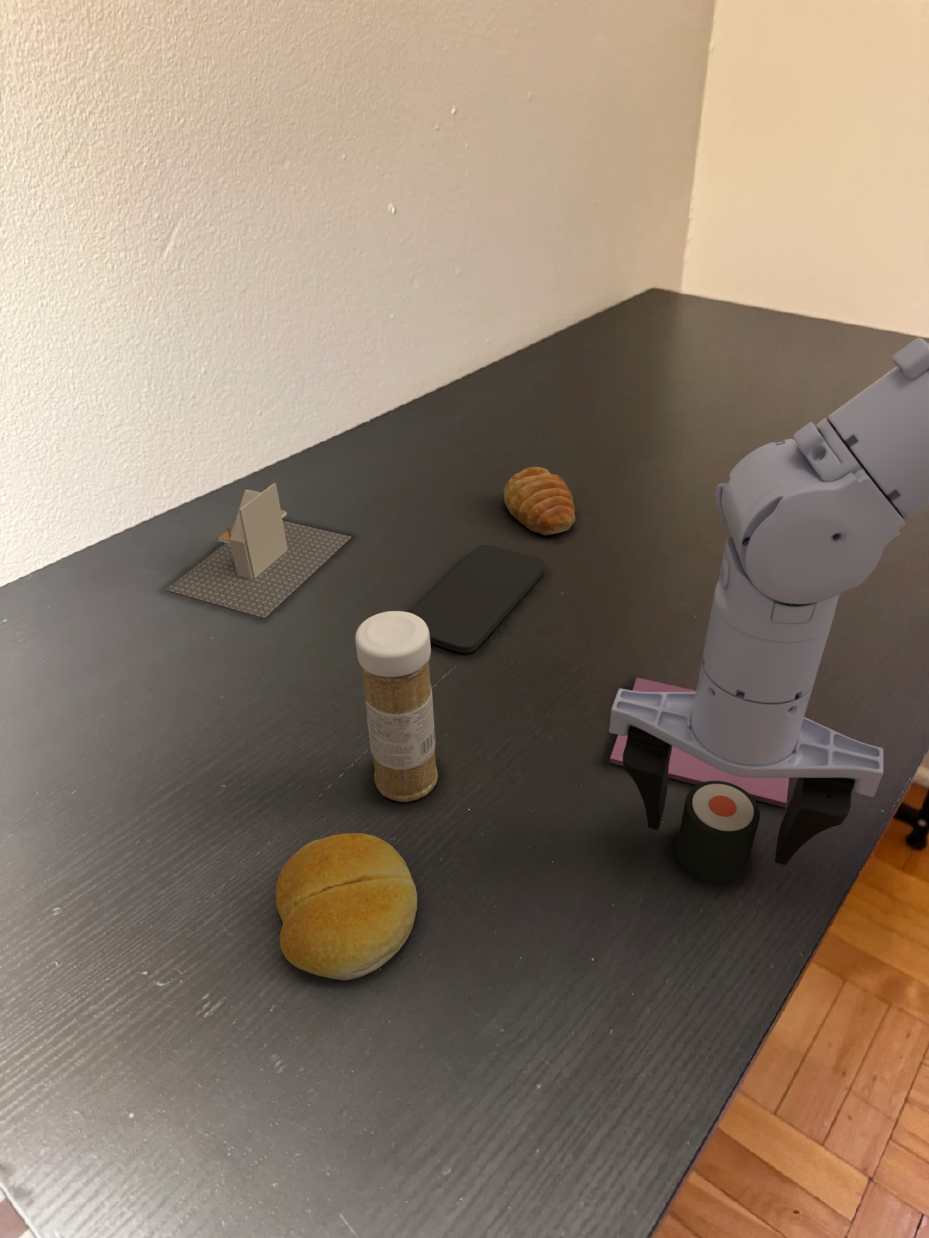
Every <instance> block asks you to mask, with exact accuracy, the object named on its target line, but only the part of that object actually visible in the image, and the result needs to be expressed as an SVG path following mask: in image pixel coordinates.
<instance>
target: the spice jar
mask: <svg viewBox="0 0 929 1238" xmlns="http://www.w3.org/2000/svg"><path fill="white" fill-rule="evenodd" d="M354 639H355V641H354V642H355V648H356V649H355V651H356V657H357V662H358V664H359V665H360V668H361V673H362V674H361V675H362V681H363V692H364V699H365V709H366V721H367V730H368V735H369V736H368V737H369V738H368V739H369V746H370V751H371V754H372V758H373V766H374V774H373V775H374V776H373V777H374V778H373V779H374V783H375V786H376V787H375V788H377V790H378V791H379V793H380V794H381V796H383V797H385V798H388V799H390V800H392V801H396V802H401V803H409V802H413V801H416V800H420V799H422V798H424V797H425V796H428V795H429V793H431V792H432V791H433V789H434V787H436V785H437V782H438V778H439V771H438V768H437V763H436V762H437V761H436V751H435V750H436V732H435V717H434V699H433V698H434V697H433V688H432V685H431V674H430V660H431V653H432V648H431V643H430V636H429V629H428V627H427V625H426V623H425V622H424V621H423V620H422V619H421V618H420V617H418V616H416V615H414V614H411V613H410V612H407V611H400V610H390V611H383V612H380V613H376V614H374V615H372V616H370V617H368V618H367V619H365V620H364V621H363V622H361V624H359V626H358V627H357V630H356V632H355V637H354Z"/></svg>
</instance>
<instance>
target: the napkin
mask: <svg viewBox="0 0 929 1238" xmlns="http://www.w3.org/2000/svg"><path fill="white" fill-rule="evenodd" d="M631 691H639V692H696V689H695V690H694V689H691V688H685V687H681V686H677V685H673V684H667V683H663V682H659V681H654V680H650V679H646V678H640V677H636V678H635V681H634V683H633V687H632V690H631ZM627 736H628V734H627V735H626V736H621V735H617V736H616V739H615V742H614V745H613V747H612V750H611V751H612V752H611V754H610V757H609V764H613V765H617V766H621V767H624V765H623V752H624V749H625V746H626V741H627ZM668 779H671V780H676V781H679V782H684V783H687V784H691V785H694V786H696V785H698V784H700V783H703V782H707V781H724V782H728V783H732V784H734V785H737V786H739V787H740V788H742V789H744V790H745V791H746V792H748V793H749V794H750V795H751V796H752V797H753V798H754V800H755V801H756V802H757V801H758V802H761V803H766V804H769V805H772V806H777V807H781V808H786V807H787V801H788V792H789V783H790V778H750V777H741V776H736V775H732V774H728V773H726V772H723V771H720V770H718V769H716V768H714V767H712V766H710V765H708V764H706V763H705V762H703V761H701V760H699V759H697V758H695V757H693V756H691V755H689V754H687V753H686V752H684V751H682V750H680V749H678V748H676V747H674V746H672V751H671V756H670V762H669V771H668Z"/></svg>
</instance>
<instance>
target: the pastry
mask: <svg viewBox="0 0 929 1238" xmlns="http://www.w3.org/2000/svg"><path fill="white" fill-rule="evenodd" d="M572 495H573V494H572V492H571V490H570V489H569V488H568V486H567V484H566V482H565V480H564V479H563V478H562V477H561V476H560V475H558V474H553V473H550V472H549V470H548V469H547V468H544V467H539V466H533V467H532V466H530V467H527V468H526V467H525V468H524V469H522V470H521V471H520V472H518V473H515V474H514V475H512V476H511V478H509V480H508V482H506V484H505V486H504V488H503V496H504V498H503V501H504V505H505V507H506V509H507V510H508V511H509V514H510V515H511V516H512V517H513V518H514V519H516V520H517V521H518V522H519V523H520V524H521V525H524V526H525V528H527V529H529V531H531V532H534V533H539V534H541V535H543V536H552V535H554V534H559V533H563V532H566V531H568V530H570V529H571V527H572V525H573V524H574V523H575V522H576V514H575V512H576V506H575V505H574V498H573V496H572Z"/></svg>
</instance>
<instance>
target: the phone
mask: <svg viewBox="0 0 929 1238" xmlns="http://www.w3.org/2000/svg"><path fill="white" fill-rule="evenodd" d="M545 568H546V563H545V562H544V560H542V559H540V558H538V557H534V556H531V555H527V554H523V553H520V552H517V551H514V550H510V549H507V548H503V547H500V546H496V545H492V544H481V545H479V546H477V547H476V548H474V549H473V550H472V551H471V552H470V553H469V554H468V555H467V556H466V557H465V558H464V559H463V560H462V561H461V562H460V563H459V564H458V565H457V566H456V567H454V569H453V570H452V571H450V572H449V574H448V575H447V576H446V577H445V578H444V579H442V580H441V581H440V582H439V583H438V584H437V585H436V586H434V588H433V589H432V590H431V591H430V592H429V593H428V594H427V595H426V596H425V597H424V598H423V599H422V600H421V601H420V602H418V604H417V605H415V607H413V609H411V611H409V613H411V614H414V615H416V616H418V617H420V618H421V619H422V620H423V621H424V622H425V623H426V625H427V627H428V629H429V636H430V644H433V645H437V646H439V647H442V648H444V649H446V650H447V649H448V650H450V651H453V652H456V653H460V654H469V653H473V652H474V651H476V650H477V649H478V648H479V647H480V646H481V645H482V644H483V643H484V642H485V640H486V639H487V638H489V636H490V635H491V633H493V631H494V630H495V629H496V628H497V627H498V626H499V624H500V623H501V622H502V621H503V620H504V619H505V617H507V615H508V614H509V613H510V612H511V611H512V610H513V608H515V606H516V605H517V604H518V603H519V602H520V601H521V599H523V597H524V596H525V595H526V594H528V592H529V591H530V590H531V588H532V587H533V586H534V585H535V583H537V581H539V579H540V578H541V577H542V576H543V574H544V572H545V570H546V569H545Z"/></svg>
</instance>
